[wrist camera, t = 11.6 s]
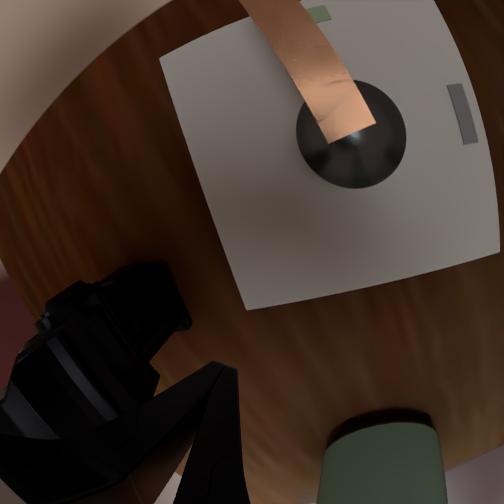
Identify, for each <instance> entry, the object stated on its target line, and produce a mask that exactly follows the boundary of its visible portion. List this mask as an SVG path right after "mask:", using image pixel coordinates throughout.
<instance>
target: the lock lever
mask: <svg viewBox="0 0 504 504" xmlns="http://www.w3.org/2000/svg"><path fill="white" fill-rule="evenodd" d="M239 2H240V3H241V4H242V6H243V7H244V9H245V10H246V11H247V13H248V14H249V16H250V17H251V18H252V20H253V21H254V23H255V24H256V25H257V27H258V28H259V30H260V31H261V33H262V34H263V35H264V37H265V38H266V40H267V41H268V43H269V44H270V46H271V47H272V49H273V50H274V52H275V53H276V55H277V57H278V58H279V60H280V61H281V63H282V64H283V66H284V68H285V69H286V71H287V72H288V74H289V76H290V77H291V79H292V81H293V82H294V84H295V86H296V87H297V89H298V91H299V92H300V94H301V96H302V98H303V99H304V101H305V102H304V103H303V105H302V107H301V109H300V111H299V114H298V118H297V123H296V137H297V143H298V146H299V150H300V152H301V154H302V156H303V158H304V160H305V161H306V163H307V164H308V166H309V167H310V168H311V169H312V170H313V171H314V172H315V173H316V174H317V175H318V176H320V177H321V178H322V179H324V180H326V181H327V182H329V183H331V184H333V185H336V186H339V187H343V188H349V189H361V188H367V187H371V186H374V185H376V184H378V183H380V182H382V181H384V180H385V179H387V178H388V177H389V176H390V175H391V174H392V173H393V172H394V171H395V170H396V169H397V167H398V166H399V164H400V162H401V160H402V158H403V155H404V152H405V148H406V128H405V124H404V120H403V118H402V115H401V113H400V111H399V109H398V108H397V106H396V105H395V103H394V102H393V101H392V100H391V99H390V98H389V96H388V95H386V94H385V93H384V92H383V91H381V90H380V89H378V88H377V87H375V86H373V85H371V84H369V83H366V82H363V81H358V80H353V79H352V78H351V76H350V74H349V73H348V71H347V69H346V68H345V66H344V64H343V63H342V61H341V60H340V58H339V57H338V55H337V53H336V52H335V50H334V49H333V47H332V46H331V44H330V43H329V41H328V40H327V38H326V37H325V35H324V34H323V33H322V31H321V30H320V28H319V27H318V26H317V24H316V23H315V21H314V20H313V19H312V17H311V16H310V15H309V13H308V12H307V11H306V9H305V8H304V7H303V6H302V4H301V3H300V2H299V1H298V0H239Z"/></svg>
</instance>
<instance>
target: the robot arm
mask: <svg viewBox="0 0 504 504" xmlns="http://www.w3.org/2000/svg"><path fill="white" fill-rule="evenodd" d="M159 265H160V266H161V267H162V269H161V268H160V267H159ZM39 318H40V319H39V320H38V321H37V322H36V323H35V324H34V325H33V326H34V328H35V329H36V331H37V334H36V335H35V336H33V337H32V338H30V339H29V340H28V341H26V342H25V344H24V345H23V347H22V349H21V350H20V352H19V354H18V356H17V357H16V360H15V363H14V366H13V369H12V372H11V376H10V379H9V382H8V385H6V386H5V387H4V388H3V389H1V390H0V504H154V503H155V501H156V500H157V498H158V496H159V495H160V493H161V492H162V490H163V489H164V487H165V486H166V484H167V483H168V481H169V480H170V478H171V477H172V475H173V473H174V472H175V470H176V469H177V467H178V466H179V464H180V462H181V461H182V459H183V458H184V456H185V454H186V453H187V451H188V450H189V448H190V446H191V445H192V443H193V445H192V448H191V451H190V454H189V457H188V460H187V463H186V466H185V469H184V472H183V475H182V478H181V481H180V484H179V487H178V490H177V493H176V497H175V499H174V502H173V504H250V500H249V496H248V492H247V487H246V482H245V477H244V470H243V459H242V452H241V451H242V445H241V428H240V410H239V391H238V371H237V369H236V368H234V367H231V366H228V365H226V366H225V365H224V364H222V363H219V362H216V361H212V362H210V363H208V364H207V365H205V366H204V367H202V368H201V369H199V370H197V371H196V372H194V373H193V374H191V375H189V376H188V377H186V378H185V379H183V380H181V381H180V382H178V383H176V384H175V385H173V386H172V387H170V388H168V389H167V390H165V391H163V392H162V393H160V394H158V395H156V396H155V397H153V396H154V393H155V390H156V387H157V384H158V381H159V379H160V374H159V373H158V372H157V371H156V370H154V368H153V367H152V366H151V364H150V363H149V361H150V360H151V359H152V358H153V356H154V355H155V354H156V353H157V352H158V350H159V349H160V348H161V347H162V345H163V344H164V343H165V342H166V341H167V339H168V338H169V337H170V336H171V334H172V333H173V332H174V331H181V330H188V329H189V328H190V327H191V326H192V322H191V320H190V318H189V316H188V313H187V311H186V309H185V307H184V305H183V302H182V300H181V298H180V296H179V293H178V291H177V289H176V286H175V284H174V282H173V279H172V277H171V275H170V272H169V270H168V267H167V265H166V263H165V262H164V261H157V262H153V263H149V264H146V265H143V263H140V262H138V263H135V264H131V265H128V266H124V267H121V268H119V269H118V270H116V271H115V272H113V273H112V274H110V275H109V276H107V277H106V278H104V279H103V280H101V281H100V282H98V281H96V282H95V283H93V284H90V283H87V284H86V283H84V282H83V281H81V280H79V281H77V282H76V283H74V284H73V285H71V286H70V287H68V288H67V289H65V290H64V291H62V292H60V293H59V294H57V295H56V296H54V297H53V298H51V299H50V300H49V301H47V302H46V303H45V304H44V310H43V314H42V315H41V316H40V317H39ZM185 323H186V324H187V325H186V324H185Z"/></svg>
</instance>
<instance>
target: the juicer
mask: <svg viewBox="0 0 504 504" xmlns="http://www.w3.org/2000/svg"><path fill="white" fill-rule="evenodd" d="M316 504H448V500H447V489H446V481H445V472H444V465H443V459H442V452H441V446H440V441H439V435H438V432H437V431H436V429H435V428H434V427H433V426H432V424H431V420H430V416H429V415H428V414H420V415H418V416H416V417H415V418H413V417H408V416H391V417H384V418H377V419H373V420H370V421H366V422H362V421H361V420H359V419H356V418H353V419H349V420H347V421H345V423H344V427H343V432H342V433H340V434H339V435H337V436H336V437H334V439H333V440H332V441H331V442H330V443H329V444H328V445H327V448H326V450H325V452H324V455H323V460H322V468H321V476H320V483H319V490H318V496H317V502H316Z"/></svg>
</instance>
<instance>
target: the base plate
mask: <svg viewBox="0 0 504 504" xmlns="http://www.w3.org/2000/svg"><path fill="white" fill-rule="evenodd" d="M299 2H300V3H301V4H302V6H303V7H304V8H305V9H306V11H307V12H308V13H309V15H310V16H311V17H312V19H313V20H314V21H315V23H316V24H317V26H318V27H319V28H320V30H321V31H322V33H323V34H324V35H325V37H326V38H327V40H328V41H329V43H330V44H331V46H332V47H333V49H334V50H335V52H336V53H337V55H338V57H339V58H340V60H341V61H342V63H343V64H344V66H345V68H346V69H347V71H348V73H349V74H350V76H351V78H352V79H353V80H358V81H363V82H366V83H369V84H371V85H373V86H375V87H377V88H378V89H380V90H381V91H383V92H384V93H385V94H386V95H388V96H389V98H390V99H391V100H392V101H393V102H394V103H395V105H396V106H397V108H398V109H399V111H400V113H401V115H402V118H403V120H404V124H405V128H406V148H405V152H404V155H403V158H402V160H401V162H400V164H399V166H398V167H397V169H396V170H395V171H394V172H393V173H392V174H391V175H390V176H389V177H388V178H387V179H385V180H384V181H382V182H380V183H378V184H376V185H374V186H371V187H367V188H361V189H349V188H343V187H339V186H336V185H333V184H331V183H329V182H327V181H326V180H324V179H322V178H321V177H320V176H318V175H317V174H316V173H315V172H314V171H313V170H312V169H311V168H310V167H309V166H308V164H307V163H306V161H305V160H304V158H303V156H302V154H301V152H300V150H299V146H298V143H297V137H296V123H297V118H298V114H299V111H300V109H301V107H302V105H303V103H304V102H305V101H304V99H303V98H302V96H301V94H300V92H299V91H298V89H297V87H296V86H295V84H294V82H293V81H292V79H291V77H290V76H289V74H288V72H287V71H286V69H285V68H284V66H283V64H282V63H281V61H280V60H279V58H278V57H277V55H276V53H275V52H274V50H273V49H272V47H271V46H270V44H269V43H268V41H267V40H266V38H265V37H264V35H263V34H262V33H261V31H260V30H259V28H258V27H257V25H256V24H255V23H254V21H253V20H252V18H251V17H247V18H245V19H242V20H239V21H237V22H234V23H232V24H229V25H227V26H225V27H222V28H220V29H217V30H215V31H213V32H211V33H208V34H206V35H204V36H202V37H200V38H198V39H196V40H194V41H191V42H189V43H187V44H185V45H183V46H182V47H180V48H178V49H176V50H174V51H172V52H170V53H168V54H166V55H165V56H163V57H161V58H159V59H160V63H161V66H162V69H163V72H164V75H165V78H166V82H167V85H168V88H169V91H170V94H171V97H172V100H173V103H174V106H175V110H176V113H177V116H178V119H179V122H180V125H181V128H182V131H183V134H184V137H185V140H186V143H187V146H188V149H189V152H190V155H191V158H192V160H193V163H194V166H195V169H196V172H197V175H198V178H199V181H200V184H201V187H202V189H203V192H204V195H205V198H206V201H207V204H208V207H209V209H210V212H211V215H212V218H213V221H214V223H215V226H216V229H217V232H218V235H219V237H220V240H221V243H222V246H223V248H224V251H225V254H226V257H227V259H228V262H229V265H230V267H231V270H232V273H233V276H234V278H235V281H236V284H237V286H238V289H239V292H240V294H241V297H242V300H243V302H244V305H245V308H246V310H252V309H258V308H264V307H270V306H275V305H281V304H286V303H292V302H297V301H302V300H308V299H313V298H318V297H323V296H328V295H333V294H337V293H342V292H347V291H352V290H356V289H361V288H365V287H370V286H374V285H378V284H383V283H387V282H391V281H395V280H400V279H404V278H408V277H412V276H416V275H420V274H424V273H427V272H431V271H435V270H439V269H443V268H446V267H450V266H454V265H457V264H461V263H464V262H468V261H471V260H475V259H478V258H481V257H485V256H488V255H491V254H495V253H498V252H500V237H499V219H498V207H497V197H496V189H495V181H494V175H493V168H492V163H491V157H490V152H489V147H488V142H487V138H486V134H485V129H484V125H483V122H482V118H481V114H480V111H479V107H478V104H477V100H476V97H475V94H474V91H473V88H472V85H471V82H470V79H469V76H468V74H467V71H466V68H465V66H464V63H463V61H462V58H461V56H460V53H459V51H458V49H457V46H456V44H455V42H454V40H453V37H452V35H451V33H450V31H449V29H448V27H447V25H446V23H445V21H444V19H443V17H442V15H441V13H440V11H439V9H438V8H437V6H436V4H435V2H434V0H302V1H299Z"/></svg>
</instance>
